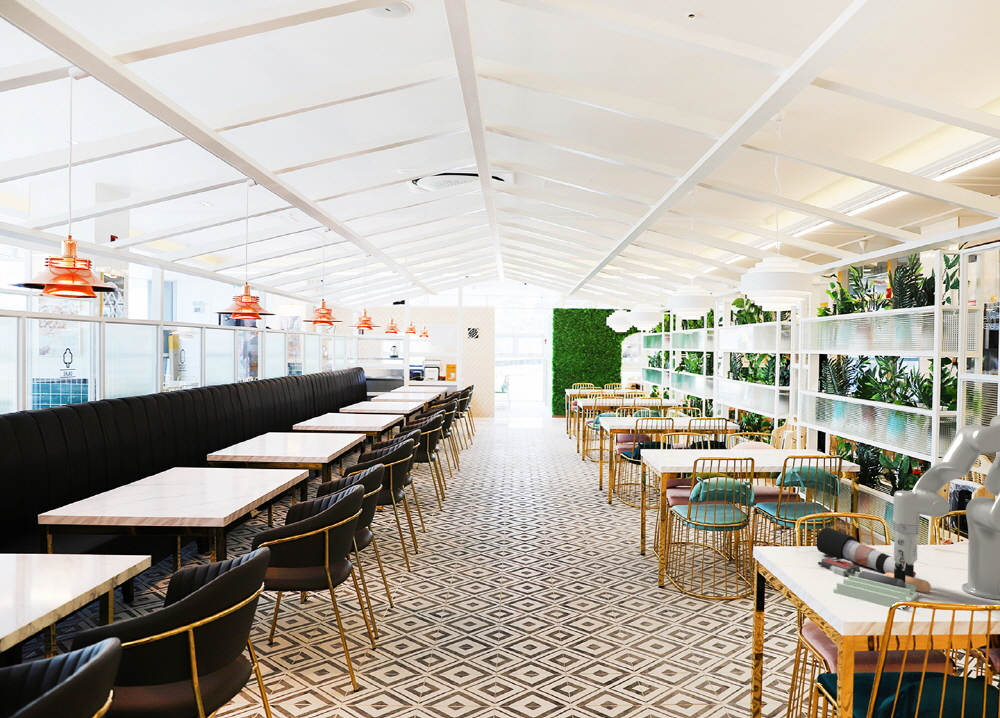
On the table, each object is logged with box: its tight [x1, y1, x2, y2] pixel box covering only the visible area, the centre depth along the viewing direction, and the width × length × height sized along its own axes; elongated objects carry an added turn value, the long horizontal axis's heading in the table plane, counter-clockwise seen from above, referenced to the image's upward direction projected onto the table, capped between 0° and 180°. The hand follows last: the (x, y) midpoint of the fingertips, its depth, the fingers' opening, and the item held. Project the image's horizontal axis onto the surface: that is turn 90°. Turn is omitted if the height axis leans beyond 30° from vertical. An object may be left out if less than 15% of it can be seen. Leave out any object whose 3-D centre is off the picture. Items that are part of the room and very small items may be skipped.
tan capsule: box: [883, 573, 932, 594], centre depth 218 cm, size 14×4×4 cm, turn 43°
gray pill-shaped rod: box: [858, 570, 906, 588], centre depth 215 cm, size 14×4×4 cm, turn 43°
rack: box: [832, 571, 920, 610], centre depth 211 cm, size 20×18×3 cm
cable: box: [816, 526, 917, 578], centre depth 240 cm, size 10×34×10 cm, turn 29°
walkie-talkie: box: [817, 557, 861, 577], centre depth 232 cm, size 9×4×20 cm
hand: (903, 578), depth 218 cm, fingers open, 9 cm apart
